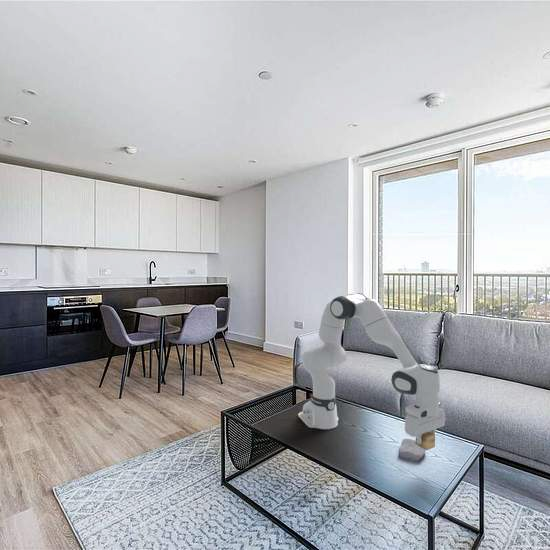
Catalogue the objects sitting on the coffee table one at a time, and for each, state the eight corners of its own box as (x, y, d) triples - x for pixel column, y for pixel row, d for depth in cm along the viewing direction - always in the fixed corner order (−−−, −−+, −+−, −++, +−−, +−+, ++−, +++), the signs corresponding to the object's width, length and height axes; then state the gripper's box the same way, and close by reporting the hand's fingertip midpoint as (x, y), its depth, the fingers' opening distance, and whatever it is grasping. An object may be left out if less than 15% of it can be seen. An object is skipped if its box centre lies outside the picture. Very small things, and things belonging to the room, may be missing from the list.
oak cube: (415, 444, 138) (415, 431, 138) (423, 441, 141) (424, 429, 140) (426, 450, 134) (427, 437, 134) (434, 447, 136) (435, 434, 136)
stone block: (425, 454, 152) (401, 444, 157) (427, 444, 151) (404, 434, 156) (421, 469, 142) (396, 457, 147) (423, 458, 141) (398, 447, 146)
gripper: (436, 399, 144) (434, 431, 145) (402, 408, 134) (401, 443, 135) (450, 404, 139) (448, 438, 140) (416, 415, 129) (415, 451, 129)
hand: (425, 441), depth 137 cm, fingers closed on oak cube, 5 cm apart
